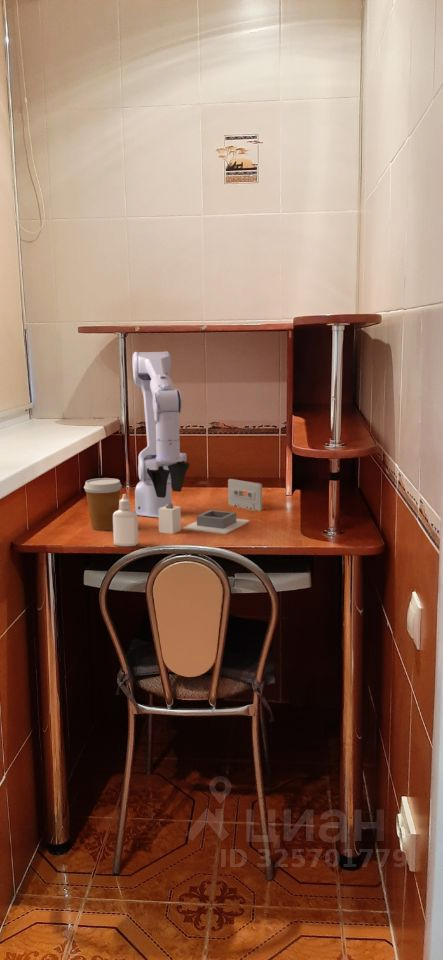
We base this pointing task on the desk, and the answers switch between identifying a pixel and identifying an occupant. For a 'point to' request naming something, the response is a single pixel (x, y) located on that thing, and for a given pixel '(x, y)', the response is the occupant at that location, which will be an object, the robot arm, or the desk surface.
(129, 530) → the eye dropper bottle
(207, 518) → the socket dock
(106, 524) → the disposable coffee cup
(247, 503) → the cassette
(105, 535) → the desk surface
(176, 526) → the block
